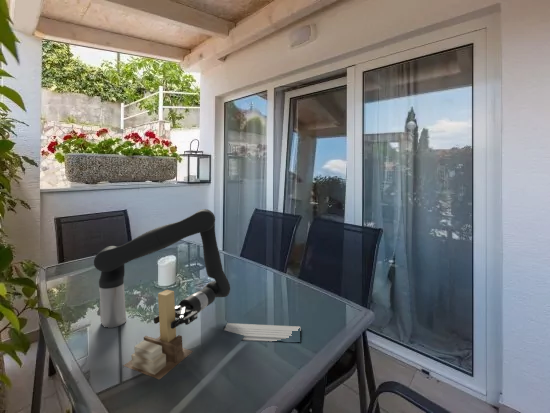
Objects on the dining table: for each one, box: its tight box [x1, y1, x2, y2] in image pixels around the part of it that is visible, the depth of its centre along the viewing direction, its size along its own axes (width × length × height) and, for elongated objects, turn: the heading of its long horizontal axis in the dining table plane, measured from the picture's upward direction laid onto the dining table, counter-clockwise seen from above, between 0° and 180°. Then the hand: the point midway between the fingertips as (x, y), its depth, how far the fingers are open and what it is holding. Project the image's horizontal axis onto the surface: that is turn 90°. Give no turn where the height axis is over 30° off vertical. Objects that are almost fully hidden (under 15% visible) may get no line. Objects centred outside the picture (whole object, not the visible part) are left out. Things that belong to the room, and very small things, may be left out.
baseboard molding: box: [222, 321, 301, 343], centre depth 123 cm, size 31×3×12 cm
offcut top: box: [133, 339, 162, 361], centre depth 100 cm, size 8×4×3 cm, turn 66°
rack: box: [122, 334, 194, 380], centre depth 105 cm, size 16×16×8 cm
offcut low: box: [130, 352, 166, 375], centre depth 101 cm, size 10×5×4 cm, turn 66°
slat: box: [157, 288, 177, 343], centre depth 108 cm, size 4×4×22 cm
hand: (163, 323), depth 106 cm, fingers open, 7 cm apart
